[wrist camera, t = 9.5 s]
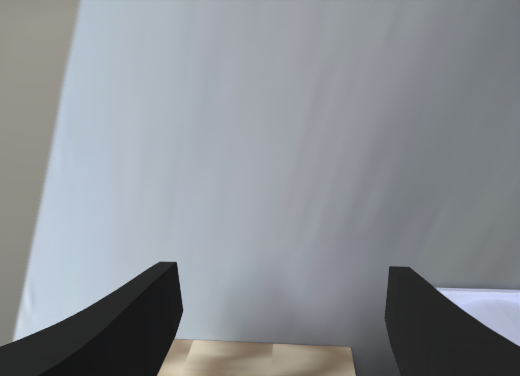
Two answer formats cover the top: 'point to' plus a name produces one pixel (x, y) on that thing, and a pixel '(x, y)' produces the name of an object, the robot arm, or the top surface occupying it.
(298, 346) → the plate
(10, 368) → the robot arm
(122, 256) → the top surface
